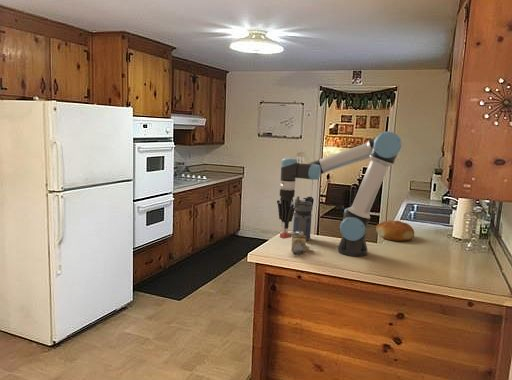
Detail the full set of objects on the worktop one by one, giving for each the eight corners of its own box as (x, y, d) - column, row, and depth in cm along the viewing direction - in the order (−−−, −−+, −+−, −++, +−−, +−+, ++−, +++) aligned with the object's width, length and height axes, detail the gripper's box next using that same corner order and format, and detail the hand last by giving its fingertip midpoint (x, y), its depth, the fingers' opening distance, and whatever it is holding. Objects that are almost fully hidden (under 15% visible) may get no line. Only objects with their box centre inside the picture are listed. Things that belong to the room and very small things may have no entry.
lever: (299, 234, 220) (299, 230, 220) (304, 235, 217) (304, 231, 217) (279, 237, 212) (279, 233, 212) (284, 238, 209) (284, 234, 208)
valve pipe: (292, 245, 228) (293, 231, 227) (305, 246, 227) (306, 232, 226) (290, 255, 210) (291, 239, 209) (304, 256, 209) (305, 240, 208)
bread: (368, 237, 253) (369, 220, 251) (384, 231, 271) (385, 216, 269) (405, 244, 238) (406, 227, 237) (419, 238, 256) (421, 222, 255)
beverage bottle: (316, 239, 241) (319, 196, 238) (300, 242, 233) (303, 198, 229) (303, 235, 249) (306, 194, 245) (287, 238, 240) (290, 195, 237)
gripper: (273, 187, 213) (271, 231, 217) (289, 191, 203) (286, 238, 207) (285, 186, 217) (282, 230, 221) (301, 190, 207) (298, 236, 211)
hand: (284, 234), depth 214 cm, fingers closed
